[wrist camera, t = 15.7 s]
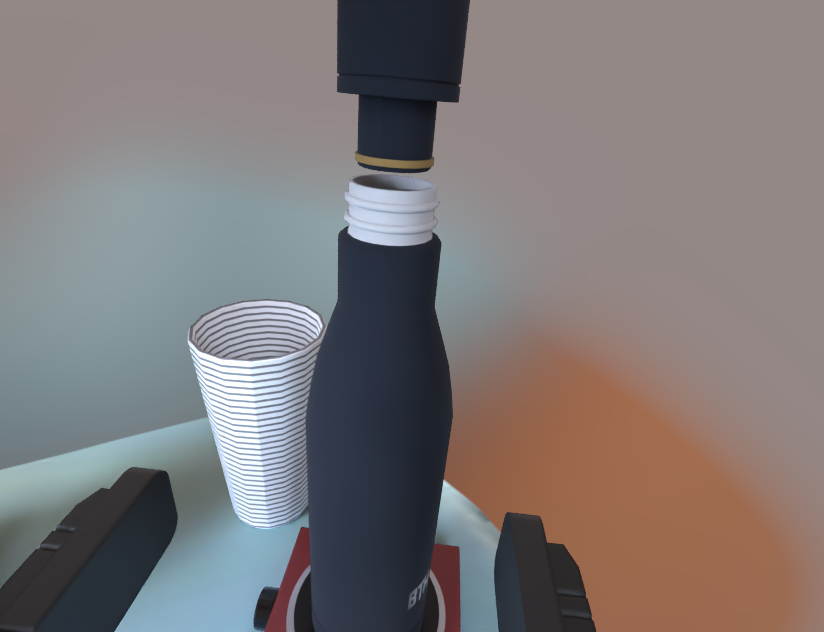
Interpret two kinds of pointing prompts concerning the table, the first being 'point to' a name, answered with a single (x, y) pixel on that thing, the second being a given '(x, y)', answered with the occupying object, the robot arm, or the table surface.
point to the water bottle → (384, 330)
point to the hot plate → (292, 604)
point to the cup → (259, 401)
